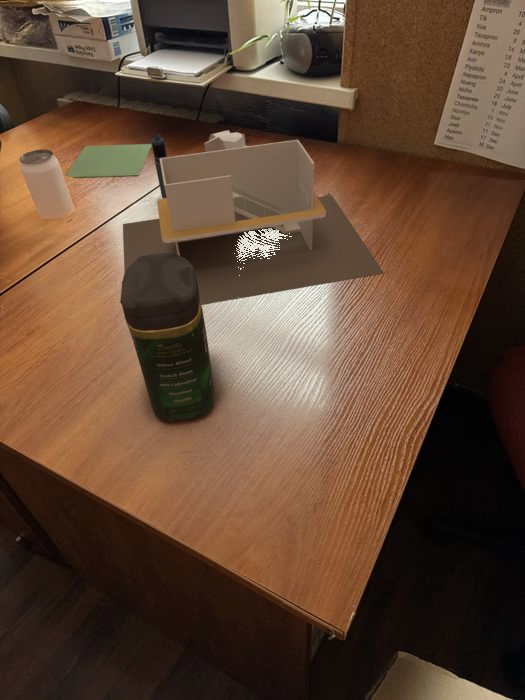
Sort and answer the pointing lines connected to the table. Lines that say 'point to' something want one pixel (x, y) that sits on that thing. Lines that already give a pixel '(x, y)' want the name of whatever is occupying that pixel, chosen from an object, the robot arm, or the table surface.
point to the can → (46, 184)
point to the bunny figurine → (225, 141)
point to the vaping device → (159, 153)
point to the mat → (110, 161)
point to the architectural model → (250, 223)
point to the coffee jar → (169, 335)
